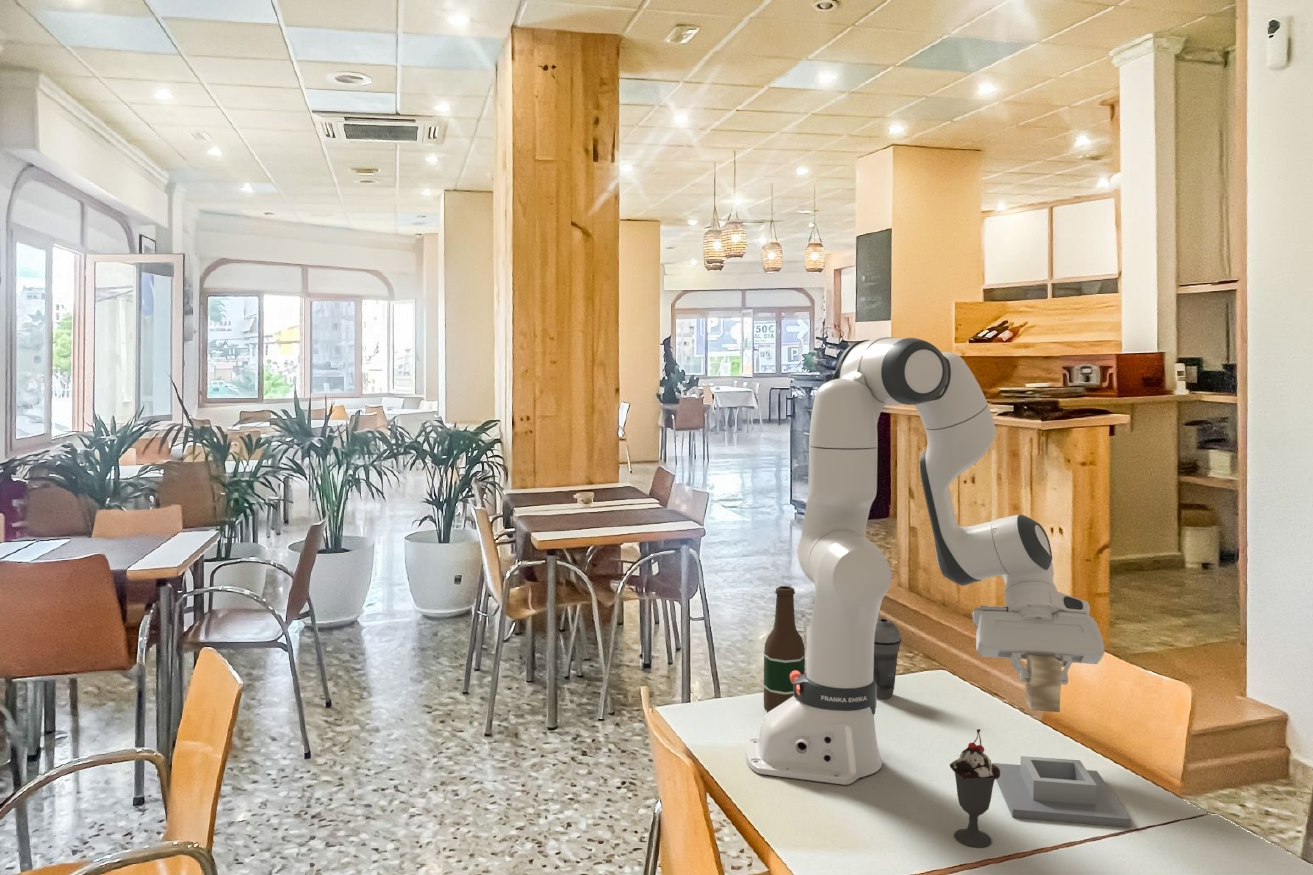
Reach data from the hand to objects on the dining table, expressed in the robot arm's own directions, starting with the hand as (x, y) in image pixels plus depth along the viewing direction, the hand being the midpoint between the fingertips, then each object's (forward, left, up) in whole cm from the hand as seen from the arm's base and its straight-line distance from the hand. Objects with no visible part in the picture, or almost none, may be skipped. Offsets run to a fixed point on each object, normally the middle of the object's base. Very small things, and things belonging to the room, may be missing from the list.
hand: (1044, 681), depth 149 cm
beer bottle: (-42, +20, -14) cm, 48 cm away
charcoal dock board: (-2, -12, -14) cm, 19 cm away
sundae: (-18, -26, -14) cm, 35 cm away
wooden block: (0, +1, -4) cm, 4 cm away
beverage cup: (-22, +30, -14) cm, 39 cm away
